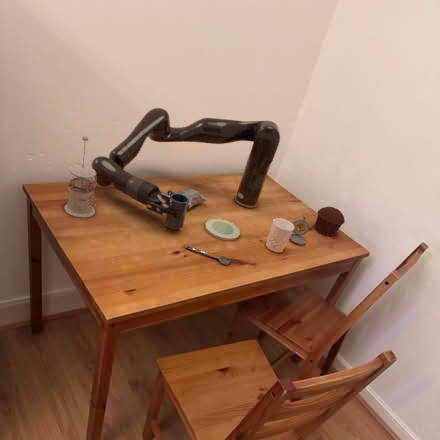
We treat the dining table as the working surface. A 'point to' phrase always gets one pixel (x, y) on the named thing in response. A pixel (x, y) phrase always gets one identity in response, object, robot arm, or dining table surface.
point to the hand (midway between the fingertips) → (183, 211)
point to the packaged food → (193, 196)
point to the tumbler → (179, 204)
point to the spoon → (221, 259)
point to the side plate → (222, 229)
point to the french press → (81, 190)
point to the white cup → (279, 234)
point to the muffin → (329, 221)
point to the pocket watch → (296, 237)
